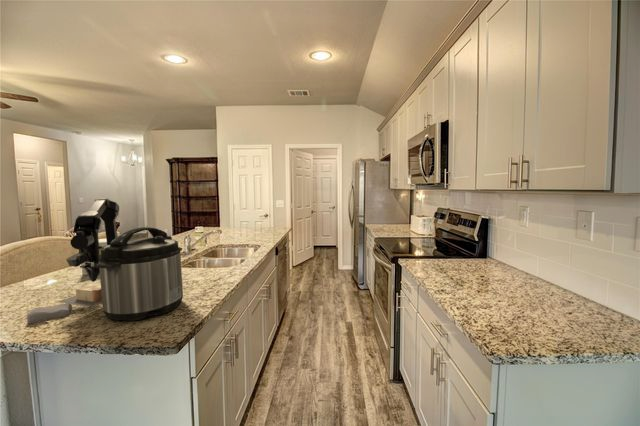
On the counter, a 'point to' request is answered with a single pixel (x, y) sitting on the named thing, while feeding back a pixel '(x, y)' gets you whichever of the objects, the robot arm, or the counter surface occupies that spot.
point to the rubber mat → (78, 301)
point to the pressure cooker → (140, 275)
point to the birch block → (89, 293)
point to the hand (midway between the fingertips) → (93, 281)
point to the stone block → (48, 313)
